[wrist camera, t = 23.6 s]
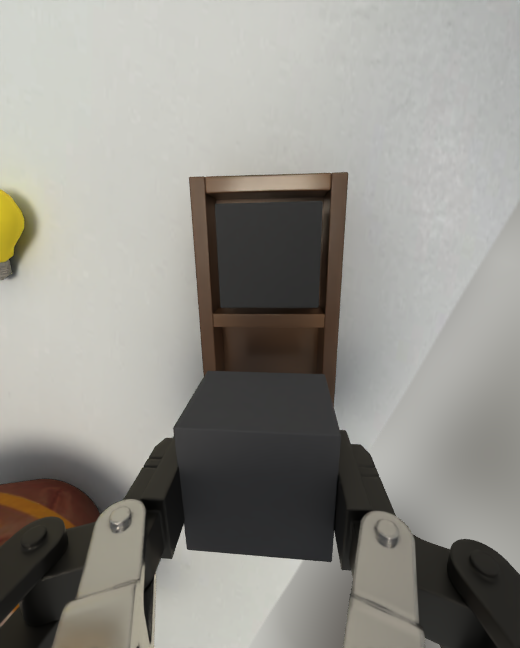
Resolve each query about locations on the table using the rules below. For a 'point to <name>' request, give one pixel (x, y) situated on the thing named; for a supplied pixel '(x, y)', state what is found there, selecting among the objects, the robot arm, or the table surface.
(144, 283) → the table surface
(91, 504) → the jug
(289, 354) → the back frame
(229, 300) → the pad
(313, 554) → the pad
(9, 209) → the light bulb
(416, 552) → the robot arm
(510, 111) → the table surface
